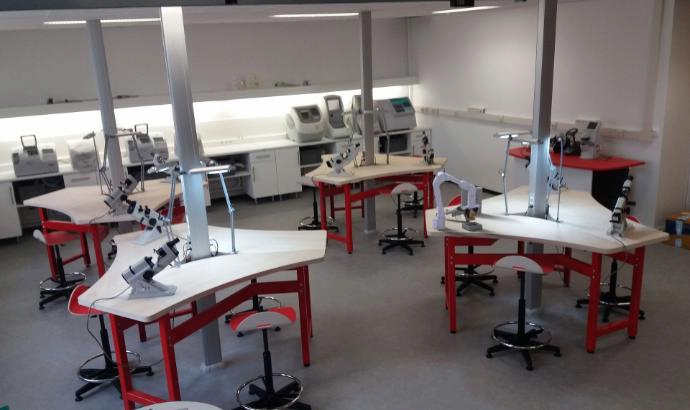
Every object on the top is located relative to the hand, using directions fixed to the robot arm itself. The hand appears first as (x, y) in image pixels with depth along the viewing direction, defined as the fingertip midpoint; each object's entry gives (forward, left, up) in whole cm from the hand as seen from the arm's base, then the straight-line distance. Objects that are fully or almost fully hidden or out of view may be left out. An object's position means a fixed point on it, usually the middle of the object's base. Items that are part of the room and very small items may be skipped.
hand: (470, 217), depth 442 cm
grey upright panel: (+24, +35, -9) cm, 43 cm away
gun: (0, +26, -9) cm, 27 cm away
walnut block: (0, 0, -2) cm, 2 cm away
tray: (0, -2, -8) cm, 9 cm away
